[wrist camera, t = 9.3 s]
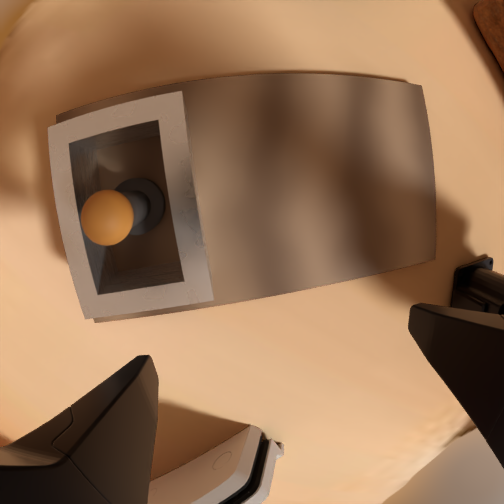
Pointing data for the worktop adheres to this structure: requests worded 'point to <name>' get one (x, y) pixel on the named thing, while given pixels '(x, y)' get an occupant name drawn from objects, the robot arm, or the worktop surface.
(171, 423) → the worktop surface
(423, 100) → the board
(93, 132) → the hollow metal box
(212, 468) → the grey rounded block
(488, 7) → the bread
